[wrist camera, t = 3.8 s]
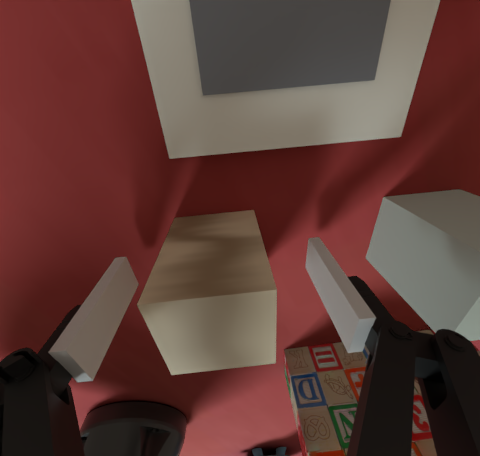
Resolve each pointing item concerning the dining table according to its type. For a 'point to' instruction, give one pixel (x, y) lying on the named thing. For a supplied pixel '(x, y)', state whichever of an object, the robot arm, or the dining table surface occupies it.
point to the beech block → (212, 295)
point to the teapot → (279, 452)
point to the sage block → (432, 256)
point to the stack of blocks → (338, 399)
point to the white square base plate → (281, 70)
